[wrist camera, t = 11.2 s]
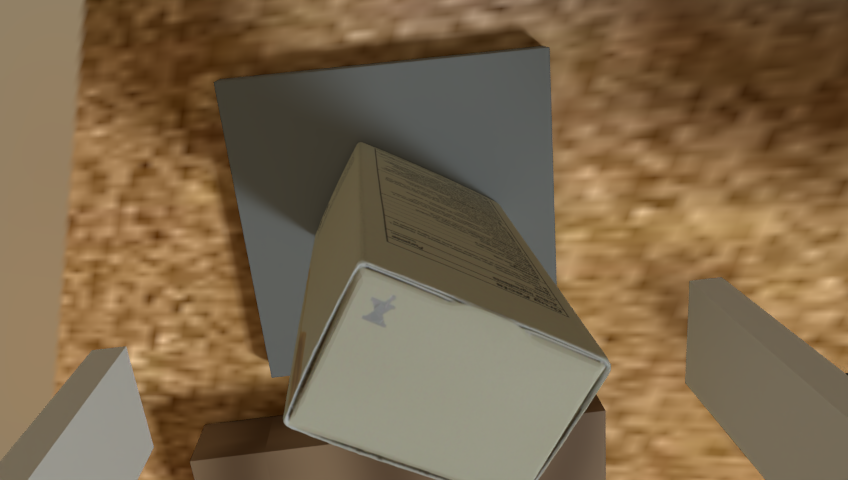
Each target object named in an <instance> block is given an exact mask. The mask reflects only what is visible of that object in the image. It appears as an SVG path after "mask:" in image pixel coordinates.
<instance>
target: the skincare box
mask: <svg viewBox="0 0 848 480" xmlns="http://www.w3.org/2000/svg"><path fill="white" fill-rule="evenodd" d="M610 370H611V364H610V362H609V360H608V358H607V357H606V355H605V354H604V352H603V351H602V350H601V348H600V347H599V345H598V344H597V343H596V341H595V340H594V338H593V337H592V336H591V334H590V333H589V331H588V330H587V328H586V327H585V326H584V324H583V323H582V321H581V320H580V319H579V317H578V316H577V314H576V313H575V312H574V310H573V309H572V307H571V306H570V305H569V303H568V302H567V300H566V299H565V297H564V296H563V294H562V293H561V292H560V290H559V289H558V287H557V286H556V284H555V283H554V282H553V280H552V279H551V277H550V276H549V275H548V273H547V272H546V270H545V269H544V267H543V266H542V265H541V263H540V262H539V260H538V259H537V258H536V256H535V255H534V253H533V252H532V251H531V249H530V248H529V246H528V245H527V243H526V242H525V240H524V239H523V238H522V236H521V235H520V233H519V232H518V231H517V229H516V228H515V226H514V225H513V223H512V222H511V220H510V219H509V218H508V216H507V215H506V213H505V212H504V210H503V209H502V208H501V206H500V205H499V204H498V203H497V202H495V201H493V200H491V199H489V198H487V197H485V196H483V195H481V194H479V193H477V192H475V191H473V190H470V189H468V188H466V187H464V186H462V185H460V184H458V183H456V182H454V181H451V180H449V179H447V178H445V177H443V176H440V175H438V174H436V173H434V172H431V171H429V170H427V169H425V168H422V167H420V166H418V165H416V164H413V163H411V162H409V161H406V160H404V159H402V158H399V157H397V156H395V155H392V154H390V153H387V152H385V151H383V150H380V149H378V148H375V147H373V146H370V145H368V144H365V143H362V142H359V143H358V144H357V145H356V147H355V149H354V151H353V153H352V155H351V157H350V159H349V161H348V163H347V165H346V167H345V169H344V171H343V173H342V175H341V177H340V179H339V181H338V184H337V186H336V188H335V190H334V192H333V194H332V196H331V199H330V201H329V203H328V205H327V208H326V210H325V212H324V215H323V217H322V220H321V222H320V225H319V227H318V230H317V232H316V235H315V239H314V245H313V250H312V256H311V261H310V267H309V273H308V279H307V284H306V290H305V295H304V301H303V305H302V311H301V316H300V321H299V327H298V333H297V339H296V344H295V350H294V355H293V362H292V368H291V373H290V379H289V385H288V392H287V397H286V404H285V410H284V415H283V422H284V424H285V425H286V426H287V427H289V428H291V429H293V430H296V431H299V432H302V433H304V434H306V435H308V436H311V437H313V438H317V439H319V440H322V441H325V442H327V443H329V444H332V445H334V446H338V447H341V448H343V449H346V450H349V451H352V452H355V453H357V454H359V455H362V456H366V457H369V458H372V459H374V460H377V461H380V462H384V463H387V464H390V465H393V466H395V467H398V468H401V469H404V470H408V471H411V472H414V473H417V474H420V475H423V476H426V477H429V478H432V479H435V480H538V479H539V478H540V477H541V475H542V474H543V473H544V471H545V470H546V468H547V467H548V465H549V464H550V462H551V461H552V459H553V458H554V456H555V455H556V454H557V452H558V451H559V449H560V448H561V447H562V445H563V443H564V442H565V440H566V439H567V437H568V436H569V434H570V432H571V431H572V429H573V428H574V426H575V425H576V424H577V422H578V421H579V419H580V418H581V416H582V415H583V413H584V412H585V410H586V409H587V407H588V406H589V404H590V403H591V401H592V399H593V398H594V396H595V395H596V393H597V392H598V390H599V389H600V387H601V385H602V384H603V382H604V381H605V379H606V378H607V376H608V375H609V373H610Z"/></svg>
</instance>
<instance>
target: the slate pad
mask: <svg viewBox="0 0 848 480" xmlns="http://www.w3.org/2000/svg"><path fill="white" fill-rule="evenodd" d="M214 86H215V92H216V97H217V102H218V107H219V112H220V117H221V122H222V127H223V132H224V137H225V142H226V148H227V153H228V158H229V163H230V168H231V173H232V178H233V183H234V188H235V193H236V198H237V204H238V209H239V214H240V219H241V224H242V229H243V234H244V239H245V244H246V249H247V254H248V259H249V265H250V270H251V275H252V280H253V285H254V290H255V295H256V300H257V305H258V310H259V315H260V321H261V326H262V331H263V336H264V341H265V346H266V351H267V356H268V361H269V366H270V371H271V377H272V378H273V377H282V376H290V373H291V368H292V362H293V355H294V350H295V344H296V339H297V333H298V327H299V321H300V316H301V311H302V305H303V301H304V295H305V290H306V284H307V279H308V273H309V267H310V261H311V256H312V250H313V245H314V239H315V235H316V232H317V230H318V227H319V225H320V222H321V220H322V217H323V215H324V212H325V210H326V208H327V205H328V203H329V201H330V199H331V196H332V194H333V192H334V190H335V188H336V186H337V184H338V181H339V179H340V177H341V175H342V173H343V171H344V169H345V167H346V165H347V163H348V161H349V159H350V157H351V155H352V153H353V151H354V149H355V147H356V145H357V144H358V143H359V142H362V143H365V144H368V145H370V146H373V147H375V148H378V149H380V150H383V151H385V152H387V153H390V154H392V155H395V156H397V157H399V158H402V159H404V160H406V161H409V162H411V163H413V164H416V165H418V166H420V167H422V168H425V169H427V170H429V171H431V172H434V173H436V174H438V175H440V176H443V177H445V178H447V179H449V180H451V181H454V182H456V183H458V184H460V185H462V186H464V187H466V188H468V189H470V190H473V191H475V192H477V193H479V194H481V195H483V196H485V197H487V198H489V199H491V200H493V201H495V202H497V203H498V204H499V205H500V206H501V208H502V209H503V210H504V212H505V213H506V215H507V216H508V218H509V219H510V220H511V222H512V223H513V225H514V226H515V228H516V229H517V231H518V232H519V233H520V235H521V236H522V238H523V239H524V240H525V242H526V243H527V245H528V246H529V248H530V249H531V251H532V252H533V253H534V255H535V256H536V258H537V259H538V260H539V262H540V263H541V265H542V266H543V267H544V269H545V270H546V272H547V273H548V275H549V276H550V277H551V279H552V280H553V282H554V283H555V284H556V286H557V283H556V249H555V216H554V183H553V149H552V116H551V82H550V49H549V47H545V46H537V47H528V48H518V49H508V50H499V51H489V52H479V53H470V54H460V55H450V56H441V57H431V58H421V59H411V60H402V61H392V62H382V63H373V64H363V65H353V66H344V67H334V68H324V69H315V70H305V71H295V72H285V73H276V74H266V75H256V76H247V77H237V78H227V79H219V80H217V81H215V82H214Z"/></svg>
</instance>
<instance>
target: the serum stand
mask: <svg viewBox="0 0 848 480" xmlns="http://www.w3.org/2000/svg"><path fill="white" fill-rule="evenodd" d="M190 464H191V468H192V472H193V476H194V480H435V479H432V478H429V477H426V476H423V475H420V474H417V473H414V472H411V471H408V470H404V469H401V468H398V467H395V466H393V465H390V464H387V463H384V462H380V461H377V460H374V459H372V458H369V457H366V456H362V455H359V454H357V453H355V452H352V451H349V450H346V449H343V448H341V447H338V446H334V445H332V444H329V443H327V442H325V441H322V440H319V439H317V438H313V437H311V436H308V435H306V434H304V433H302V432H299V431H296V430H293V429H291V428H289V427H287V426H286V425H285V424H284V422H283V415H282V416H274V417H265V418H257V419H249V420H240V421H232V422H224V423H216V424H207V425H205V426H204V428H203V430H202V433H201V435H200V438H199V440H198V443H197V445H196V448H195V450H194V453H193V455H192V457H191V460H190ZM538 480H606V444H605V409H604V407H603V406H602V404H601V402H600V400H599V399H598V397H597V395H595V396H594V398H593V399H592V401H591V403H590V404H589V406H588V407H587V409H586V410H585V412H584V413H583V415H582V416H581V418H580V419H579V421H578V422H577V424H576V425H575V426H574V428H573V429H572V431H571V432H570V434H569V436H568V437H567V439H566V440H565V442H564V443H563V445H562V447H561V448H560V449H559V451H558V452H557V454H556V455H555V456H554V458H553V459H552V461H551V462H550V464H549V465H548V467H547V468H546V470H545V471H544V473H543V474H542V475H541V477H540V478H539V479H538Z"/></svg>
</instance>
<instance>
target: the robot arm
mask: <svg viewBox="0 0 848 480" xmlns="http://www.w3.org/2000/svg"><path fill="white" fill-rule="evenodd" d="M685 383H686V384H687V385H688V387H689V388H690V389H691V390H692V391H693V393H694V394H695V395H696V396H697V398H698V399H699V400H700V401H701V402H702V404H703V405H704V406H705V407H706V408H707V410H708V411H709V412H710V413H711V414H712V416H713V417H714V418H715V419H716V421H717V422H718V423H719V424H720V425H721V427H722V428H723V429H724V430H725V431H726V433H727V434H728V435H729V436H730V437H731V439H732V440H733V441H734V442H735V443H736V445H737V446H738V447H739V448H740V450H741V451H742V452H743V453H744V454H745V456H746V457H747V458H748V459H749V460H750V462H751V463H752V464H753V465H754V466H755V468H756V469H757V470H758V471H759V473H760V474H761V475H762V476H763V477H764V479H765V480H848V373H844V372H843V371H841V370H840V369H839V368H837V367H836V366H835V365H834V364H832V363H831V362H830V361H828V360H827V359H826V358H825V357H823V356H822V355H821V354H819V353H818V352H817V351H816V350H814V349H813V348H812V347H810V346H809V345H808V344H807V343H805V342H804V341H803V340H801V339H800V338H799V337H798V336H796V335H795V334H794V333H792V332H791V331H790V330H789V329H787V328H786V327H785V326H783V325H782V324H781V323H780V322H778V321H777V320H776V319H774V318H773V317H772V316H771V315H769V314H768V313H767V312H765V311H764V310H763V309H762V308H760V307H759V306H758V305H756V304H755V303H754V302H753V301H751V300H750V299H749V298H747V297H746V296H745V295H744V294H742V293H741V292H740V291H738V290H737V289H736V288H735V287H733V286H732V285H731V284H729V283H728V282H727V281H726V280H724V279H723V278H722V277H720V278H711V279H703V280H694V281H690V283H689V306H688V330H687V353H686V376H685ZM153 448H154V446H153V443H152V439H151V435H150V432H149V428H148V424H147V421H146V417H145V414H144V410H143V406H142V403H141V399H140V395H139V392H138V388H137V385H136V381H135V377H134V374H133V370H132V366H131V363H130V359H129V356H128V352H127V348H126V347H117V348H108V349H100V350H92V351H91V352H90V354H89V355H88V356H87V357H86V358H85V360H84V361H83V362H82V363H81V364H80V366H79V367H78V368H77V369H76V370H75V372H74V373H73V374H72V375H71V377H70V378H69V379H68V380H67V381H66V383H65V384H64V385H63V386H62V387H61V389H60V390H59V391H58V392H57V393H56V395H55V396H54V397H53V398H52V399H51V401H50V402H49V403H48V404H47V406H46V407H45V408H44V409H43V411H42V412H41V413H40V414H39V415H38V416H37V418H36V419H35V420H34V421H33V423H32V424H31V425H30V426H29V427H28V429H27V430H26V431H25V432H24V433H23V435H22V436H21V437H20V438H19V439H18V441H17V442H16V443H15V444H14V445H13V447H12V448H11V449H10V450H9V452H8V453H7V454H6V455H5V456H4V458H3V459H2V460H1V461H0V480H137V479H138V478H139V476H140V474H141V472H142V470H143V468H144V466H145V464H146V462H147V460H148V458H149V456H150V454H151V452H152V450H153Z"/></svg>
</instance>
